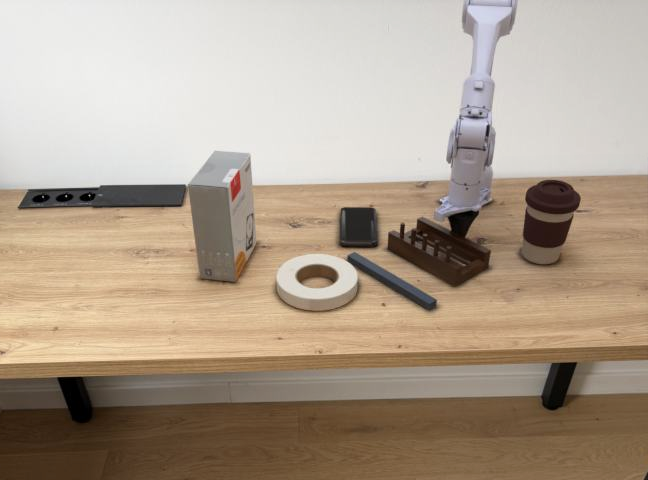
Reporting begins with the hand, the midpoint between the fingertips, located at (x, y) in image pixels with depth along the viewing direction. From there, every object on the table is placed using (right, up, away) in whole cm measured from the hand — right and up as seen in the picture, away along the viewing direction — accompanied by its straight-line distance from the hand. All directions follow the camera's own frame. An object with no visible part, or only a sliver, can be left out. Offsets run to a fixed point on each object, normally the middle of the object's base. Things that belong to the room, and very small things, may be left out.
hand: (457, 241), depth 139 cm
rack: (-5, -4, -2) cm, 6 cm away
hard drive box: (-46, -4, -1) cm, 47 cm away
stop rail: (-15, -9, -9) cm, 19 cm away
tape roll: (-29, -10, -9) cm, 32 cm away
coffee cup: (+16, -3, -2) cm, 17 cm away
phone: (-20, +4, +8) cm, 21 cm away
